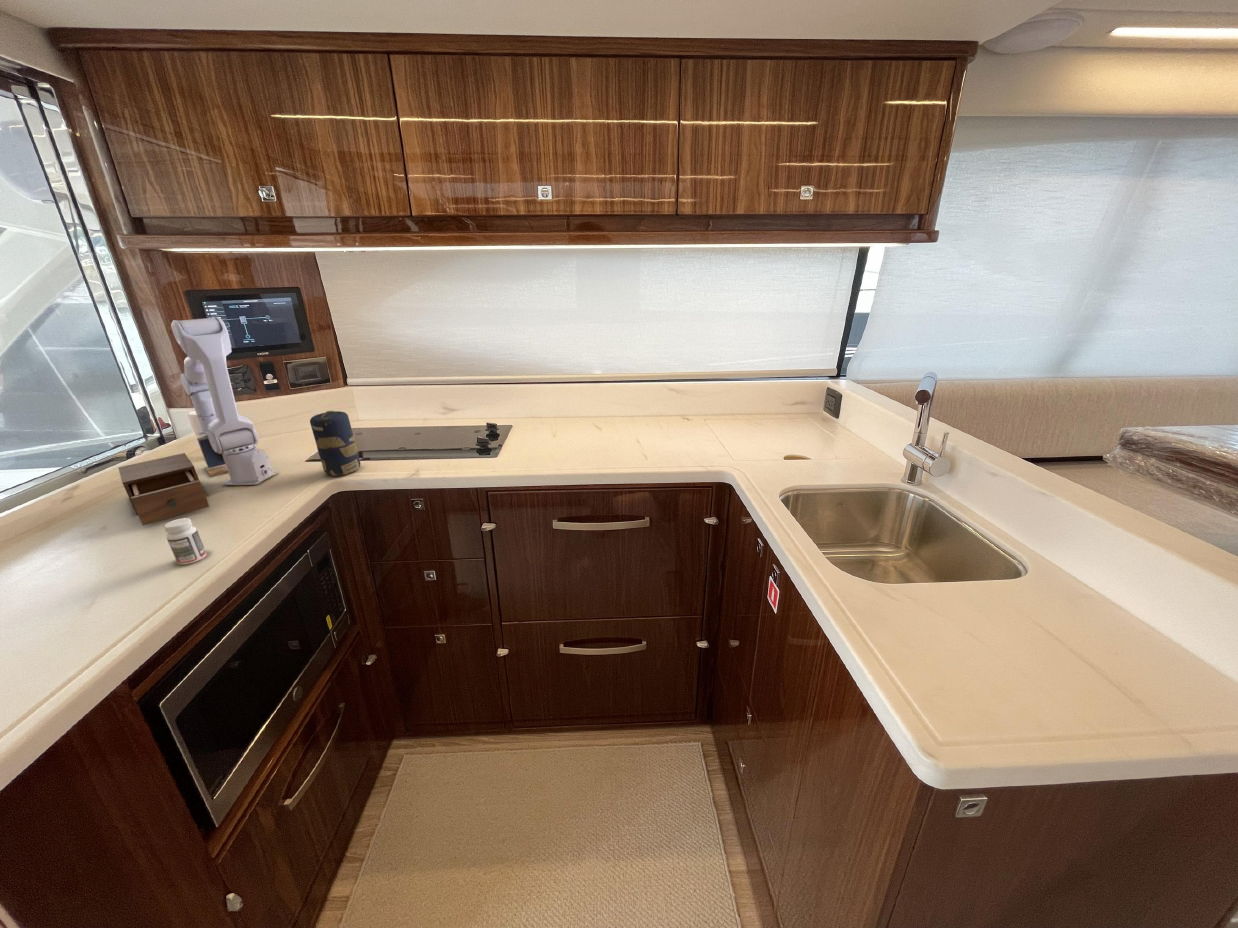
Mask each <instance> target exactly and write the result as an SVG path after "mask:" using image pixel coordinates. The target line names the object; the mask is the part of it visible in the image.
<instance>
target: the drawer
mask: <svg viewBox="0 0 1238 928" xmlns="http://www.w3.org/2000/svg"><path fill="white" fill-rule="evenodd" d="M131 485H132V489H133V492H134V495H135V496H133V497H131V500H132V502H133V504H134V507H135V509H136V511H137V513H138V514H137V516H138V518H139V520H140V523H141V525H142V526H145V525H149V524H152V523H155V522H159V521H163V520H166V519H170V518H174V517H177V516H180V515H184V514H188V513H191V512H195V511H198V510H202V509H205V508H210V504H209V501H208V499H207V496H206V494H205V491H204V488H203V485H202V484H201V481H200V479H199V480H197V481H195V480H194V478H193V477H192V475H191V474H190V472H189V471H188V470H187V471H183V472H178V473H174V474H170V475H166V476H162V477H157V478H153V479H149V480H145V481H140V482H136V483H132V484H131Z"/></svg>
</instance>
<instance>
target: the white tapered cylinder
mask: <svg viewBox="0 0 1238 928" xmlns="http://www.w3.org/2000/svg"><path fill="white" fill-rule="evenodd" d="M187 417H188V420H189V423H190V425H191V428H192V430H193V432H194V434H195V436H196V439H197V438H202V437H204V436H206V434H201V435H199V434H198V431H202V428H201V425H200V423H199V420H198V417H197V414H196V411H195V410H192V411H190V412H188V413H187Z"/></svg>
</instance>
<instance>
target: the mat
mask: <svg viewBox="0 0 1238 928" xmlns="http://www.w3.org/2000/svg"><path fill="white" fill-rule="evenodd" d="M204 469H205V471H206V472H207V473H208V474H209V476H210V477H216V476H221V475H225V474H227V473H228V474H229V472H228V470H227V467H226V464H224V465H220V466H215V467H211V468H208V466H204Z"/></svg>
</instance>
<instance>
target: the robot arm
mask: <svg viewBox="0 0 1238 928" xmlns="http://www.w3.org/2000/svg"><path fill="white" fill-rule="evenodd" d="M170 326H171V331H172V334H173V337H174V338H175V341H176V342H177V344H178V345H179V347H180V348H181V349H182V351H183V352H184V354H186V357H185V358H184V360H183V367H184V368H183V371H184V372H182V373H181V374H180V380H181V381H180V382H181V385H182V387H183V389H184V391H185V393H186V394H187V395H188V396H189V398H190V400H191V403H192V406H193V409H194V411H196V414H197V417H198V420H199V423H200V425H201V428H202V431H198V434H199V435H201V434H206V436H204V437H207V436H208V438H209V439H207V441H208V442H209V443H210V444H211V446H212V448H213V450H214V451H215V452H217V453H218V455H219V457H220V458H221V459H222V461H223V460H224V461H225V464H226V467H227V470H228V475H229V477H230V480H228V481H226V482H224V483H223V485H224V486H256V485H258V484H261V483H263V481H265V480H267V479H269V478H271V477H273V476H275V475H276V472H273V468H272V466H271V462H270V459H269V456H268V454H267V452H265V451H264V450H262V449H258V448H256V445H258V443H259V436H258V432H257V430H256V428H255V425H254V422H253V421H252V420H251V419H250V418H248V417H247V416H244V415H241V414H239V412H238V408H237V403H236V399H235V395H234V391H233V387H232V383H231V378H230V373H229V370H228V366H227V365H228V364H227V356H229V355H230V354H231V353H232V352H233V351H232V343H231V339H230V334H229V331H228V329H227V326H226V324H225V321H224V320H223V319H222V318H220V317H219V316H215V317H214V316H213V317H206V318H194V319H183V320H177V319H175V320H172V322H171V325H170Z"/></svg>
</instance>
